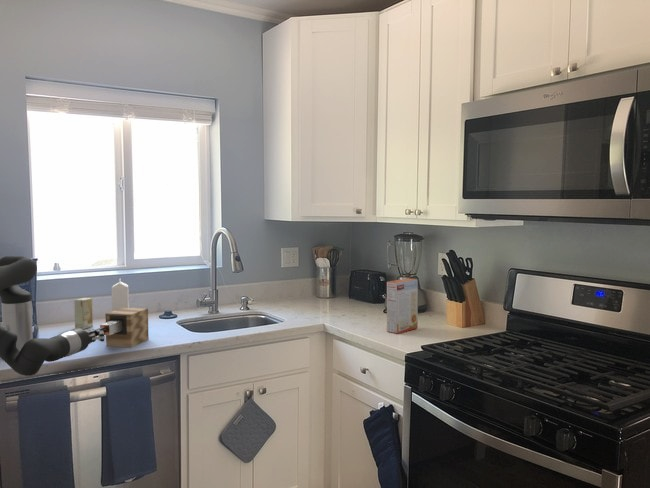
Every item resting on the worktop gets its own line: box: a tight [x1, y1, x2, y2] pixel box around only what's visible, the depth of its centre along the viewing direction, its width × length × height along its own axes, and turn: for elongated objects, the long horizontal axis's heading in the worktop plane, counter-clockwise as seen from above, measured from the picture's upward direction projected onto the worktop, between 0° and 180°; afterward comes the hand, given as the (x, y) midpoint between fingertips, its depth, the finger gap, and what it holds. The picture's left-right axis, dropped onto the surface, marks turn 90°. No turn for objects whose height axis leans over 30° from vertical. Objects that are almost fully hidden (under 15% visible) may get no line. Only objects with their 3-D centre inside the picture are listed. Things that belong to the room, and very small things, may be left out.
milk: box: [111, 277, 130, 312], centre depth 217 cm, size 6×6×22 cm
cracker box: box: [386, 277, 419, 334], centre depth 222 cm, size 14×6×21 cm, turn 134°
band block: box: [105, 307, 150, 348], centre depth 202 cm, size 12×10×12 cm
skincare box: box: [74, 297, 94, 330], centre depth 226 cm, size 6×4×12 cm
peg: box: [99, 319, 124, 336], centre depth 194 cm, size 12×4×4 cm, turn 168°
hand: (103, 330), depth 187 cm, fingers closed
